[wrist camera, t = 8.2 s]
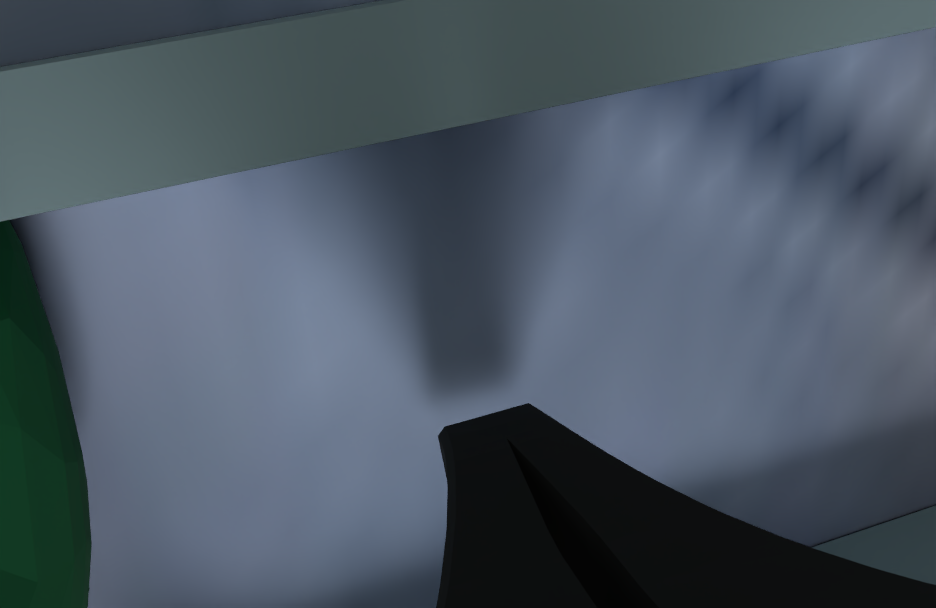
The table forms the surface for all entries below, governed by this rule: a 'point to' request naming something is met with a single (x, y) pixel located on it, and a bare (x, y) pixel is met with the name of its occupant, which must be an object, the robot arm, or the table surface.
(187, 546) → the table surface
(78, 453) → the dark green curved piece
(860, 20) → the pair of grey bars
